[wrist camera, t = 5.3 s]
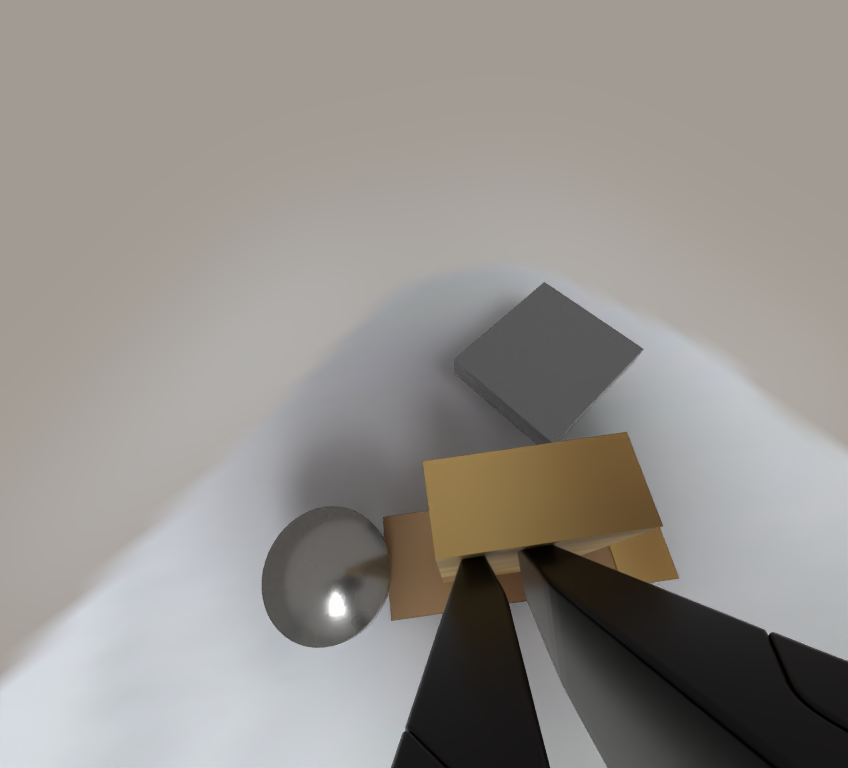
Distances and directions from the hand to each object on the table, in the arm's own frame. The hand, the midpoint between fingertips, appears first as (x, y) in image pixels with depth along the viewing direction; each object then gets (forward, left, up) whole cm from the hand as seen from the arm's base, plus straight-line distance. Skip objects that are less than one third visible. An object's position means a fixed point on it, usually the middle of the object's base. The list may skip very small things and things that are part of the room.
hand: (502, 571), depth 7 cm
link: (+2, -1, -9) cm, 9 cm away
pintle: (-1, +5, -9) cm, 10 cm away
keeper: (+8, -1, -9) cm, 12 cm away
